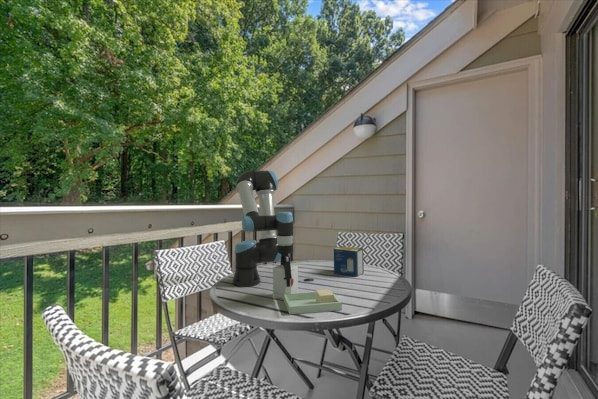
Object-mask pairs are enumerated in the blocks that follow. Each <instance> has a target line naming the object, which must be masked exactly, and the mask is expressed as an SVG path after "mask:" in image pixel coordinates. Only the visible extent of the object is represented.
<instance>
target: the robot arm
mask: <svg viewBox="0 0 598 399" xmlns="http://www.w3.org/2000/svg"><path fill="white" fill-rule="evenodd" d="M278 184H279V181H278V176H277V174H276V172H275V171H273V170H246V171H244V172H242V173H241V174H239V176H238V177H237V179H236V181H235V189H236V192H237V193H238V195H239V199H240V202H241V208H242V212H243V215H244V216H243V217H242V218H241V229H242V231H243V232H249V233H250V232H260V233H261V234H260V235H261V236H260V237H259V239H258V242H257V240H255V239H247V240H243V241H239V242H237V243H236V244H235V246H234V247H235V249H234V253H235V254H234V255H235V259H234V260H235V271H234V273H233V278H232V285H233V286H235V287H240V286H243V287H253V286H256V285H259V284H260V283H261V277H260V274H259V272H258V264H264V263H265V264H266V263H275V262H276V263H277V262H280V265H283V266H284V271H285V278H284V280H285V294H288V293H291V279H292V277H291V265H292V264H291V256H289V255H290V254H292V253H293V252H294V245H293V243H294V239H295V237H294V236H293V235H294V231H293V230H294V218H293V213H292V211H278V212H277V213H275V203H274V202H275V200H274V195H275V193H276V190H278V188H279V185H278ZM254 191H255V194H256V195H257V196H258V204H257V202H256V197H255V195H254ZM258 207H259V208H258ZM243 287H242V288H243Z"/></svg>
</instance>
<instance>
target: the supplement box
mask: <svg viewBox="0 0 598 399" xmlns="http://www.w3.org/2000/svg"><path fill="white" fill-rule="evenodd" d="M290 265H291V277H292V279H291V293H299V266H298V265H295V264H290ZM284 278H285V271H284V266H283V265H281V264H279V265H276V266H273V267H272V298H273V299H274V300H276V299H282V300H284V294H285V280H284Z"/></svg>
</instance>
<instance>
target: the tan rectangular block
mask: <svg viewBox="0 0 598 399" xmlns="http://www.w3.org/2000/svg"><path fill="white" fill-rule="evenodd" d="M315 291H316V302H317V303H318V304H320V303H332V302H334V295H335V293H334V292H332V291H331V290H330V289H326V288H325V289H315Z"/></svg>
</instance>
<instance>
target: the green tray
mask: <svg viewBox="0 0 598 399" xmlns="http://www.w3.org/2000/svg"><path fill="white" fill-rule="evenodd" d="M283 302H284V305H285V308H286V310H287V312H288V315H299V314H310V313H321V312H334V311H342V310H343V305H342V304H343V302H342V301H341V300H340V299H339V298H338V297H337V296H336V295H335V294H334V302H332V303H320V304H318V303H317V302H316V290H315V291H305V292H303V291H302V292H298V293H288V294H284V299H283Z"/></svg>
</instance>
